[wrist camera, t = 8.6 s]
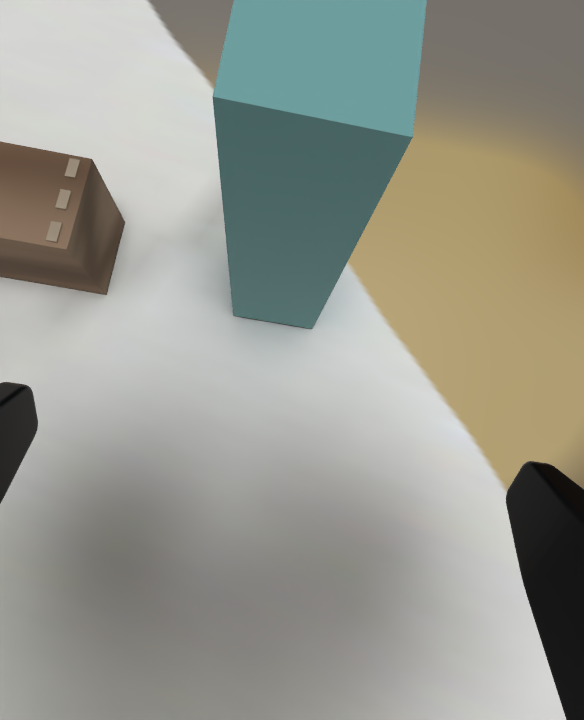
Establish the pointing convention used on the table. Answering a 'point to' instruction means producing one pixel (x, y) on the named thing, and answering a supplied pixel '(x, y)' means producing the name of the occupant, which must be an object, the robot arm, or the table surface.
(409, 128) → the tall teal pillar
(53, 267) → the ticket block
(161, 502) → the table surface
